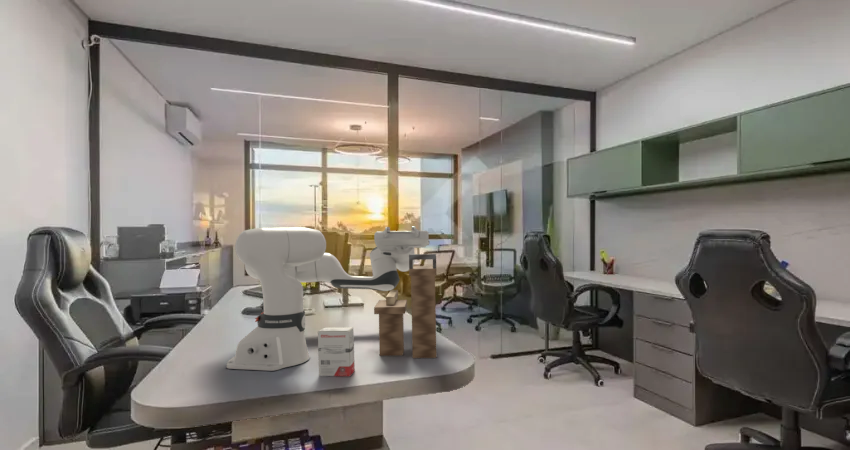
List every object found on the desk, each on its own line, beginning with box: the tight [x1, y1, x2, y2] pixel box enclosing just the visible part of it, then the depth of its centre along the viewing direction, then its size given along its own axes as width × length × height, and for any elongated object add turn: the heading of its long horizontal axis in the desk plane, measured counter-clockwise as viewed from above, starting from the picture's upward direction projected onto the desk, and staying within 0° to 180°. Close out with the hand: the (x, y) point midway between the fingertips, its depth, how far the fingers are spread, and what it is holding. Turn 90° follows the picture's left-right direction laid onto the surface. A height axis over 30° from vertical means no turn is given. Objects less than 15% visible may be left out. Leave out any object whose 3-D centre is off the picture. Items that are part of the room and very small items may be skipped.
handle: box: [385, 289, 399, 305], centre depth 133 cm, size 2×15×2 cm, turn 179°
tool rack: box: [373, 253, 438, 359], centre depth 127 cm, size 18×13×30 cm
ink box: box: [317, 326, 356, 377], centre depth 109 cm, size 9×5×12 cm, turn 84°
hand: (400, 228), depth 149 cm, fingers open, 8 cm apart
